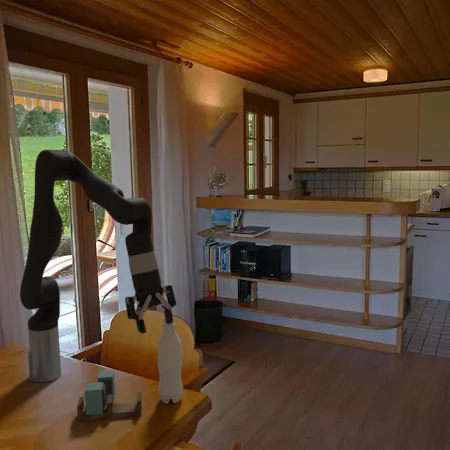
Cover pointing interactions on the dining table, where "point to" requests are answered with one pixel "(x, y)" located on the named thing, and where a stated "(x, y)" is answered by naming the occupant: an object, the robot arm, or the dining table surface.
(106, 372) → the teal block
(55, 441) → the dining table surface
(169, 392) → the water bottle
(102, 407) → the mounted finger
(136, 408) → the rail
